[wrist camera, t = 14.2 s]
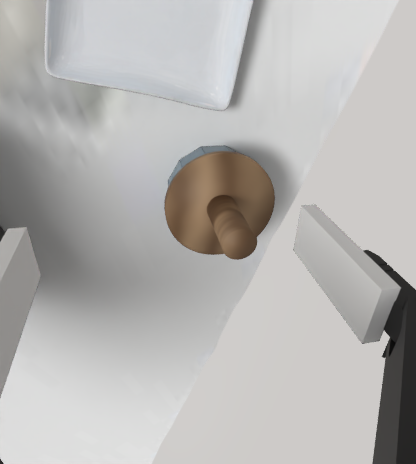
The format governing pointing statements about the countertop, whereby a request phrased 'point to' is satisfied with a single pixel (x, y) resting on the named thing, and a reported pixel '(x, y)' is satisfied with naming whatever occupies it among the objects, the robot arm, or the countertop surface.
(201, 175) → the lid
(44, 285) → the countertop surface
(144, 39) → the salad plate
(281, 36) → the countertop surface
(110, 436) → the countertop surface
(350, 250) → the robot arm
